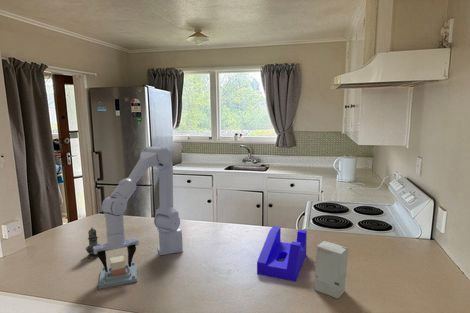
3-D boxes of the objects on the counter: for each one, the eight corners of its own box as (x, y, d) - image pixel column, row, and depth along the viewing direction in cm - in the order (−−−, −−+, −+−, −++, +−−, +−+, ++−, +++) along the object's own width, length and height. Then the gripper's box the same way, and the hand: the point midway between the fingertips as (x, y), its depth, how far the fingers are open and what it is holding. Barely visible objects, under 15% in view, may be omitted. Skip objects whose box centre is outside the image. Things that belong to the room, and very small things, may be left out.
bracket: (272, 250, 127) (273, 226, 126) (306, 255, 122) (306, 230, 120) (257, 275, 108) (256, 246, 106) (295, 282, 103) (296, 253, 101)
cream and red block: (124, 268, 111) (123, 255, 110) (126, 274, 107) (125, 260, 106) (110, 271, 109) (109, 258, 108) (112, 277, 105) (111, 263, 104)
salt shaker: (96, 259, 121) (93, 230, 119) (83, 258, 122) (80, 229, 120) (105, 252, 126) (102, 224, 125) (92, 251, 128) (90, 224, 126)
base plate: (136, 265, 115) (136, 260, 115) (137, 281, 104) (136, 276, 104) (101, 271, 111) (101, 266, 111) (98, 288, 100) (98, 283, 100)
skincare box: (313, 290, 98) (314, 245, 95) (321, 282, 102) (322, 239, 100) (339, 300, 92) (341, 253, 90) (346, 291, 97) (348, 246, 95)
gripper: (135, 223, 112) (137, 258, 114) (91, 231, 106) (95, 268, 108) (138, 230, 106) (141, 267, 108) (92, 238, 99) (96, 277, 101)
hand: (118, 268), depth 107 cm, fingers open, 7 cm apart
